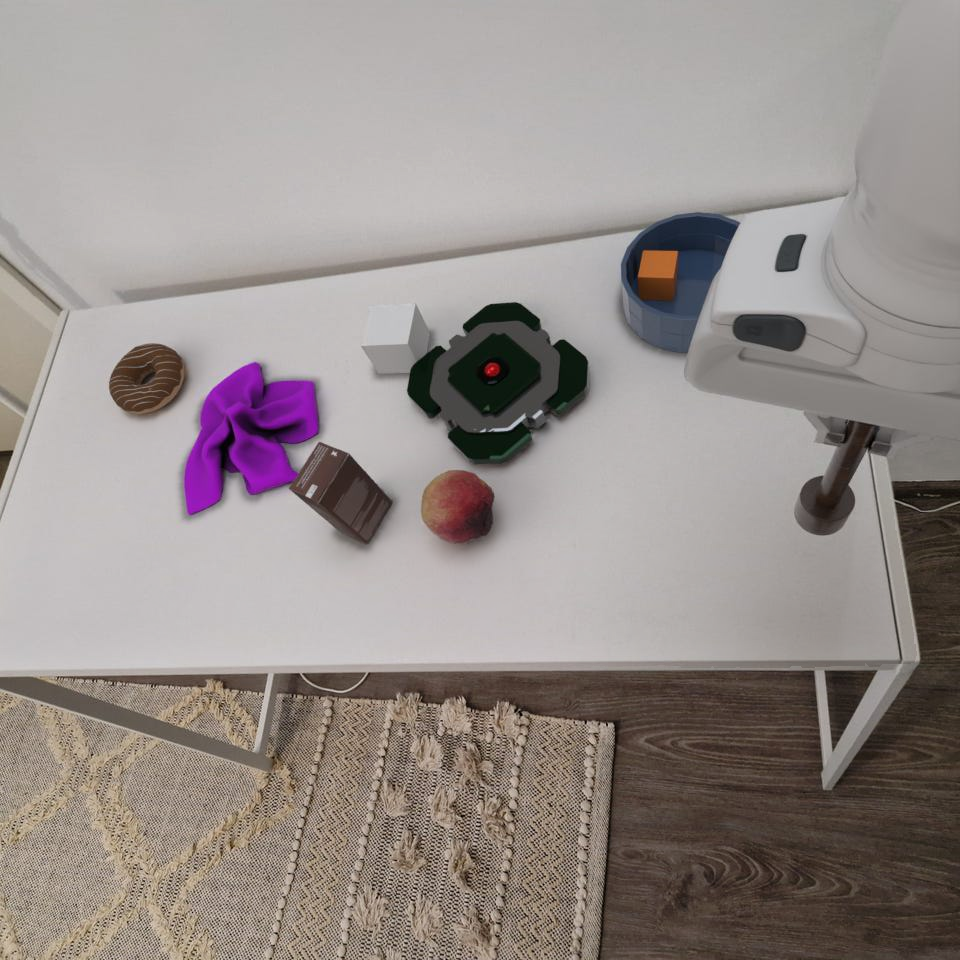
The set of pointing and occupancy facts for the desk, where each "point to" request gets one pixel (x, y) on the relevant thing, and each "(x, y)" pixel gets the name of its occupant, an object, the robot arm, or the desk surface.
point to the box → (341, 492)
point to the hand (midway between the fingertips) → (854, 440)
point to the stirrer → (834, 484)
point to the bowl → (698, 263)
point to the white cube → (395, 337)
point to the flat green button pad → (498, 382)
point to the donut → (136, 368)
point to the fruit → (458, 506)
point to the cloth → (248, 434)
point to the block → (658, 275)
